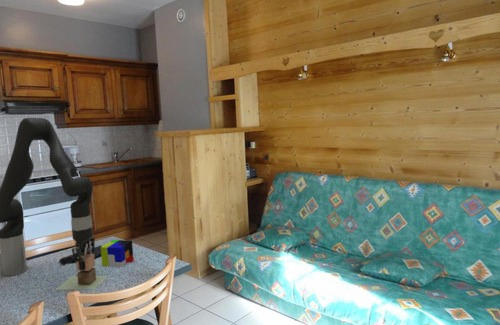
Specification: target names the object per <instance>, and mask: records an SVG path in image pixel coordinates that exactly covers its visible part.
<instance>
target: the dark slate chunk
mask: <svg viewBox="0 0 500 325" xmlns="http://www.w3.org/2000/svg"><path fill="white" fill-rule="evenodd" d="M102 246H103V245H98V246H94V252H92V254H94V259H96V258H97V259H98V258H99V257H100V256H101V247H102ZM80 253H84V252H80ZM57 263H58V264H62V265H63V266H66V265H71V264H76V262H75V261H74V257H73V254H71V255H67V256H64V257H62V258H60V259H59V260H58V262H57Z"/></svg>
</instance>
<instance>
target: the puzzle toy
mask: <svg viewBox="0 0 500 325" xmlns="http://www.w3.org/2000/svg"><path fill="white" fill-rule="evenodd" d="M101 246H102V247H101V266H102V267H124V266H125V265H126V264H128V263H133V262H134V261H135V260H134V249H133V247H134V246H133V240H129V239H128V240H127V239H125V240H122V239H113V240H111V241H109V242H107V243H106V244H103V245H101Z"/></svg>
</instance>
